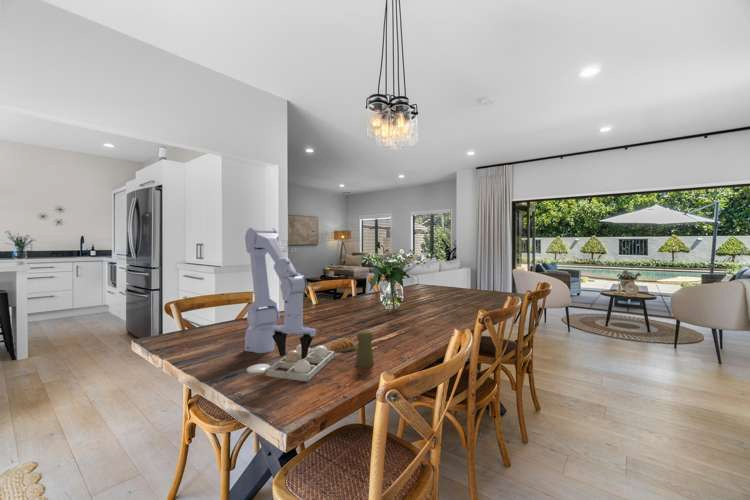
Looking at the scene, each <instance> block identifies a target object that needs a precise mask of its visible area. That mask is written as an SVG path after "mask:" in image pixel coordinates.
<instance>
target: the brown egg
mask: <svg viewBox="0 0 750 500" xmlns="http://www.w3.org/2000/svg"><path fill="white" fill-rule="evenodd" d="M285 356H286V357H285ZM285 356H284V357H285V361H286V362H290V363H296V362H297V361H299V360H301V355H300V353H299V352H298V351H296V349H292V350H289V351H288V352H287V353H285Z"/></svg>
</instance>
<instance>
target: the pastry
mask: <svg viewBox="0 0 750 500" xmlns="http://www.w3.org/2000/svg"><path fill="white" fill-rule="evenodd" d="M356 349H357V345H356V342H355V339H353V338H346V339H339V340H338V341H337V342H336V343H334V344H333V345H331V346H330V350H329V351H335V353H344V352H348V351H353V350H356Z"/></svg>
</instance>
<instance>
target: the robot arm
mask: <svg viewBox="0 0 750 500" xmlns="http://www.w3.org/2000/svg"><path fill="white" fill-rule="evenodd" d="M279 238H280V236H279V233H278V231H277V230H276V228H260V227H259V228H255V227H249V228H248V229H247V230H246V232H245V235H244V241H245V242H244V243H245V250H246V252H247V253H248V254H249V256H250V266H251V276H252V285H253V295H254V300H253V302H251V303H250V304H249V306H248V307H247V316H246V317H247V318H246V319H247V320H246V322H247V324H248V326H249V327H247V328H246V329H245V335H244V352H245V351H246V352H251V353H256V354H266V353H267V354H268V353H270V352H273V351H274V350H275V344H276V347H277V350H278V354H279V357H284V356H286V342H287V336H288V334H289V335H299V336H300V335H301V337H299V341H300V344H301V349H302V350H301V357H302V359H305V358H306V357H307V353H308V349H309V348H310V346H311V343H312V340H314V337H315V336H316V335H317V329H316V328H311V327H307V326H304V322H303V320H304V319H303V317H304V316H303V315H304V314H303V313H304V311H303V310H304V308H303V307H304V293H305V292H306V291H307V289H308V288H307V287H308V283H307V282H308V281H307V279H306V277H305V276H304V275H303V274H301V273H299V272H297V270H296V268H295V266H294V265H293V263H292V261H291V259H290V258H288V257H285V254H284V253H283V251H282V249H281V247H280V244H279ZM267 254H269V256H270V258H271V259H272V260H273V262H274V264H273V269H274V272H275V274H276V275H277V277H278V279H279V281H280V287H279V288H280V291H281V293H282V294H281V295H282V300H283V325H279V324H278V325H277V323H278V322H279V321H280V311H279V309H278V304H277V302H276V301H274V300H272V299H271V298H270V289H269V280H268V271H267V260H266V255H267ZM264 307H265V308H264Z"/></svg>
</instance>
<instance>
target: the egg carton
mask: <svg viewBox="0 0 750 500" xmlns="http://www.w3.org/2000/svg"><path fill="white" fill-rule="evenodd" d="M314 349H315V348H310V354H309V355H308V356H307V357H306V358H305V359H304V360H307V361H308V362H309V363H313V364H317V365H313V364H310V366H311V369H310V372H309V373H308V374H300V373H295V372H294V365H295V363H290V362H286V361H285V357H286V355H284V356H283V357H282V358H281V359H279V360H278V361H276V362H274V363H273V364H272V365H270V367H268V368H267V369H265V372H264V376H265V377H272V378H280V379H287V380H293V381H294V380H295V381H299V382H300V381H301V382H309V381H310V380H311V379H312V378H313V377H314V376H316V375H317V373H319V372H320V371H321V370H322V369H323V368H324V367H326V365H327V364H328V363H330V362H331V361H332V360H333V359H334V358H335V353H336V352H335V351H330V350H328V356H327V357H326V358H320V357H314V355H313V352H314ZM301 360H302V357H301ZM279 368H280V369H281V368H282V369H287V370H286V371H282V370H277V369H279Z"/></svg>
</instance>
